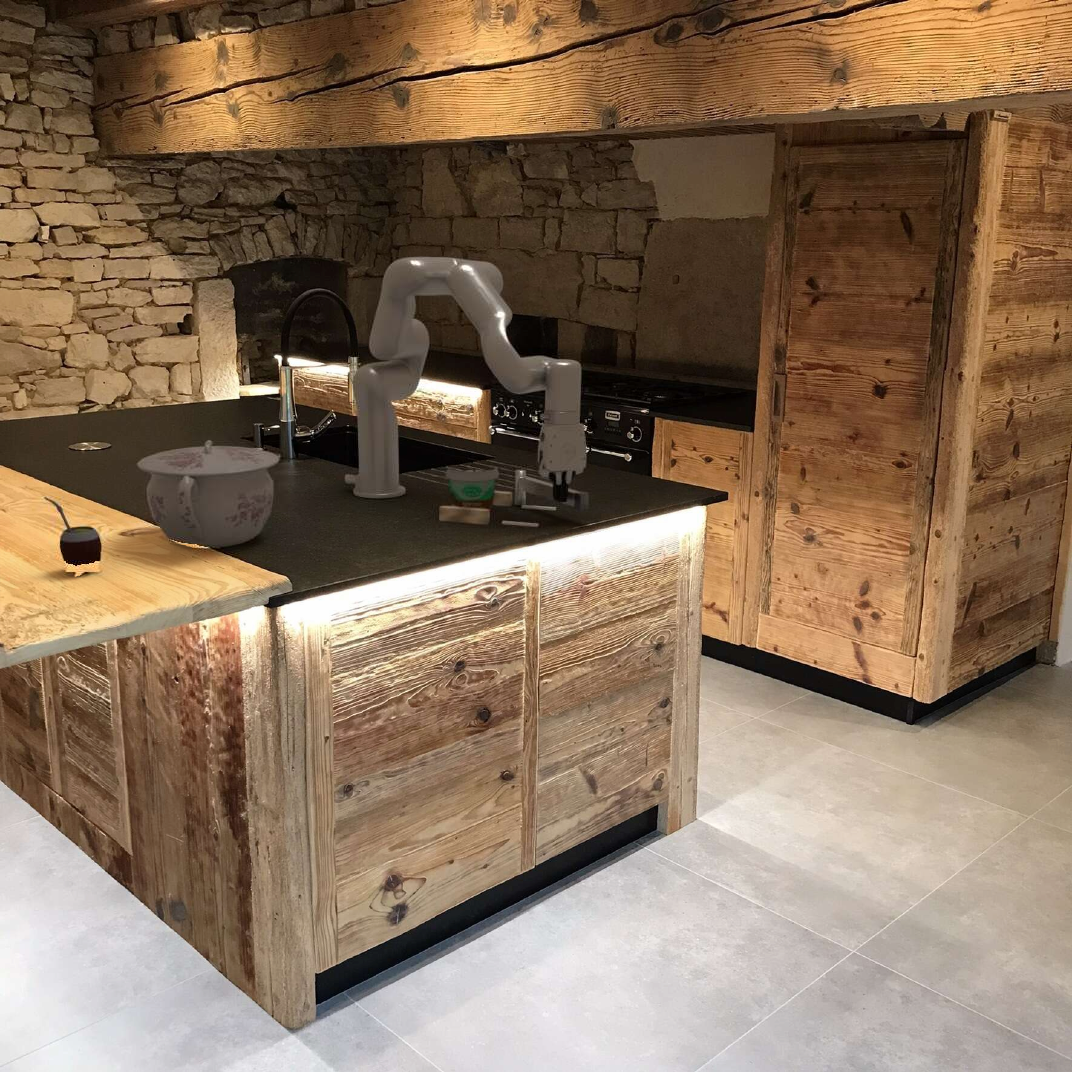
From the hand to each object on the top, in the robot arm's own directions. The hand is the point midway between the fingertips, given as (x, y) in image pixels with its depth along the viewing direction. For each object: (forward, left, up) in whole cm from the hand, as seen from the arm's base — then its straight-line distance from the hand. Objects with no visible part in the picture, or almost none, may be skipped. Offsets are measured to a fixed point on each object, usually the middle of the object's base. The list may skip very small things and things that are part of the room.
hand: (560, 500), depth 239 cm
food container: (-21, +4, -5) cm, 22 cm away
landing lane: (-8, +4, -5) cm, 10 cm away
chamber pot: (-64, -36, -5) cm, 74 cm away
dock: (-20, +4, -5) cm, 21 cm away
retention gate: (-4, +7, -5) cm, 9 cm away
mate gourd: (-75, -63, -5) cm, 98 cm away
